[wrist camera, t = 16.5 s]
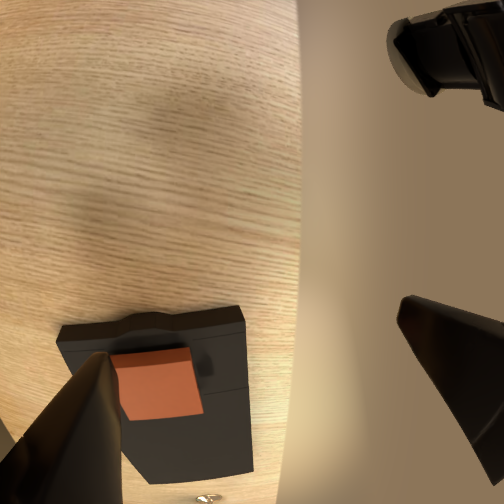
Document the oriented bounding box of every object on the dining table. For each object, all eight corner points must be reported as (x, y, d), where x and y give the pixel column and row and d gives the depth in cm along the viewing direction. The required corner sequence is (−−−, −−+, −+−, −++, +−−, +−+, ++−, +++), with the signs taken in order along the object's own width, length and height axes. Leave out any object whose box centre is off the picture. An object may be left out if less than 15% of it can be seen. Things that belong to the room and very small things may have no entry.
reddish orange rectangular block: (186, 324, 21) (191, 360, 17) (197, 378, 23) (203, 413, 20) (110, 332, 20) (103, 369, 16) (131, 385, 22) (129, 420, 18)
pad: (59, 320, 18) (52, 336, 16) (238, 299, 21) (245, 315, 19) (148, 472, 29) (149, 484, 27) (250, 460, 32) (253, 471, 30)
